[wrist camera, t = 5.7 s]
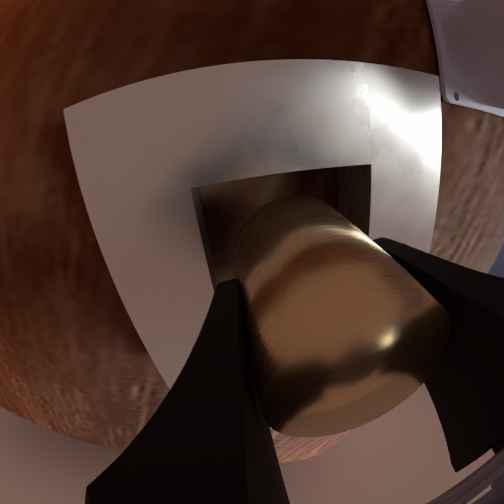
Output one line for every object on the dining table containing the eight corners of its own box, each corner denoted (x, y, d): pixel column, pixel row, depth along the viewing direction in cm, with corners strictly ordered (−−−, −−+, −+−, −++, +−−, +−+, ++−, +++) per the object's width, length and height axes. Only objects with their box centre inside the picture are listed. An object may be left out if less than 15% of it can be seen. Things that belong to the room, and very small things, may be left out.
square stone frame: (397, 77, 10) (438, 76, 8) (384, 305, 17) (407, 334, 14) (95, 108, 9) (63, 109, 7) (172, 350, 16) (170, 389, 13)
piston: (337, 179, 9) (465, 261, 4) (353, 279, 11) (432, 388, 6) (215, 220, 9) (225, 363, 4) (254, 316, 11) (287, 451, 6)
